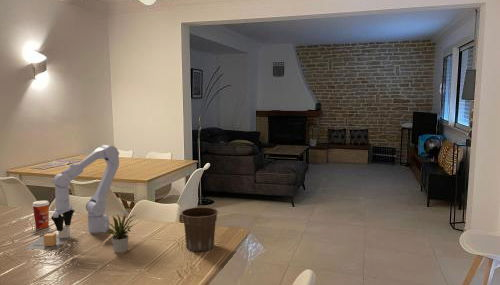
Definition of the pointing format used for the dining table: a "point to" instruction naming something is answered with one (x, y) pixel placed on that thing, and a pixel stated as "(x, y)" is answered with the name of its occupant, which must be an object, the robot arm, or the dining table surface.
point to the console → (40, 245)
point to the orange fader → (50, 239)
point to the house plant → (120, 234)
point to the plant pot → (199, 228)
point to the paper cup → (41, 214)
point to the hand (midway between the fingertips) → (63, 228)
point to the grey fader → (65, 232)
